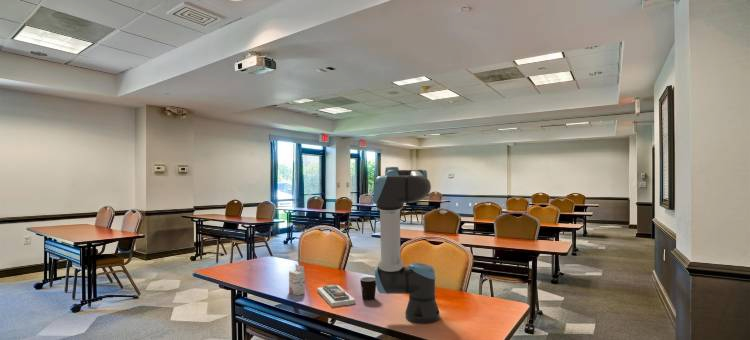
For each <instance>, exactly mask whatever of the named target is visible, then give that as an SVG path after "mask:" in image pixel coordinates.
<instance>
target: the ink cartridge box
mask: <svg viewBox="0 0 750 340" xmlns="http://www.w3.org/2000/svg"><path fill="white" fill-rule="evenodd" d="M305 278H306V273H305V266H303V265H299V264H295V269H293V270H289V271H288V292H289V293H290V294H293V295H296V296H302V295H304V294H305V293H306V289H305V287H306V285H305V283H306V280H305Z"/></svg>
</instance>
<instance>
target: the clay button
mask: <svg viewBox="0 0 750 340" xmlns="http://www.w3.org/2000/svg"><path fill="white" fill-rule="evenodd" d="M343 290H344V289H343ZM343 290H338V291H335V296H344V295H345V291H346V290H344V291H343Z"/></svg>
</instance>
